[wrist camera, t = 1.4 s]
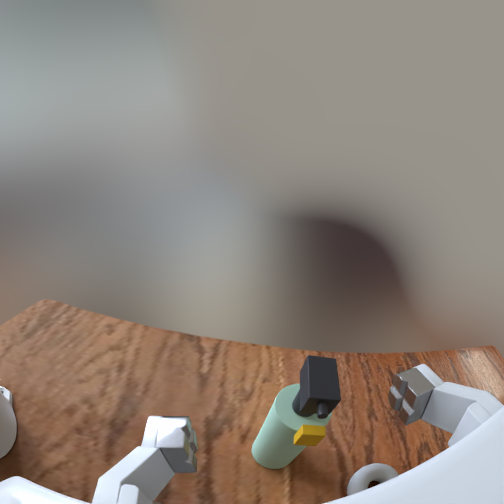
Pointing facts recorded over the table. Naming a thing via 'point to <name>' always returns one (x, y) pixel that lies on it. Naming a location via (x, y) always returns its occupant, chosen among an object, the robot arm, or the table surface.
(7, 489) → the robot arm
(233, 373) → the table surface
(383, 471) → the donut
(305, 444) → the block
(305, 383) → the spray bottle
